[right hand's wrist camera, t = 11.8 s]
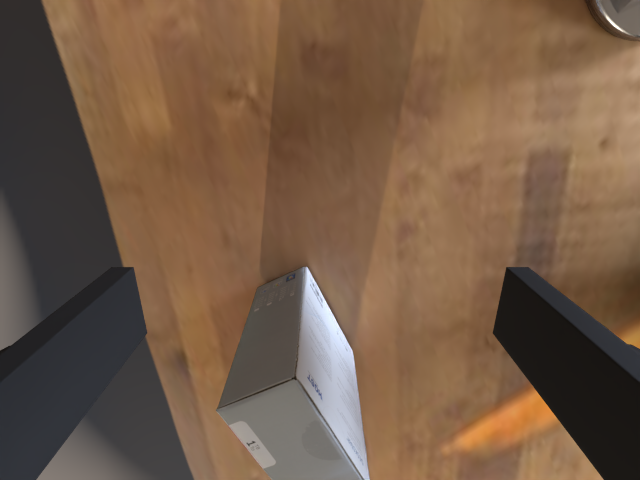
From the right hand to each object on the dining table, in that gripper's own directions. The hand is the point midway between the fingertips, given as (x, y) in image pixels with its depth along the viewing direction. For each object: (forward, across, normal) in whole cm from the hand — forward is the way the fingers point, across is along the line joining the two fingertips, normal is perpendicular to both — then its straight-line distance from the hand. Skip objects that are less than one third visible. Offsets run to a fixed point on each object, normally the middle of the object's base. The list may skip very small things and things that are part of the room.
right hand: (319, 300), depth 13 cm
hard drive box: (+30, +2, +21) cm, 37 cm away
